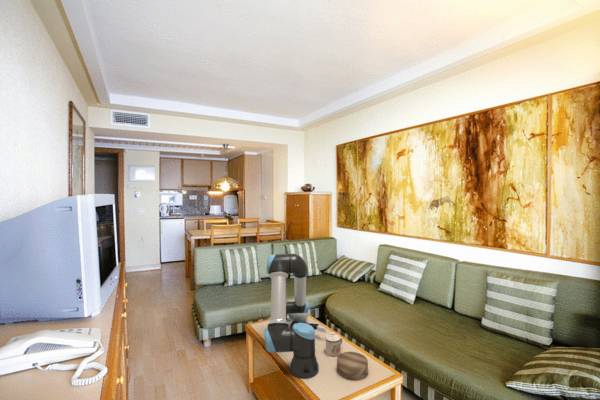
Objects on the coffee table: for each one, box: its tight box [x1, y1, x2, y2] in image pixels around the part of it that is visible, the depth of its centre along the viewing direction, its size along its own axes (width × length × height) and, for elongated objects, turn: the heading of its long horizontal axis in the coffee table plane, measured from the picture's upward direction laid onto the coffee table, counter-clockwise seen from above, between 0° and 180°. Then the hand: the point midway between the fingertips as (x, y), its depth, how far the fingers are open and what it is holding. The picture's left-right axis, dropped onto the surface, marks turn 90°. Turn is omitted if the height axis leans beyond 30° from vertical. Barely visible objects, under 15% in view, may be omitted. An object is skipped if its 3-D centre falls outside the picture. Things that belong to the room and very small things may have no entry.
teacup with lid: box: [324, 331, 343, 357], centre depth 171 cm, size 12×9×12 cm
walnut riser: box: [336, 351, 369, 381], centre depth 152 cm, size 16×16×6 cm
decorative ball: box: [287, 312, 309, 323], centre depth 211 cm, size 15×15×15 cm
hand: (319, 334), depth 177 cm, fingers open, 13 cm apart
